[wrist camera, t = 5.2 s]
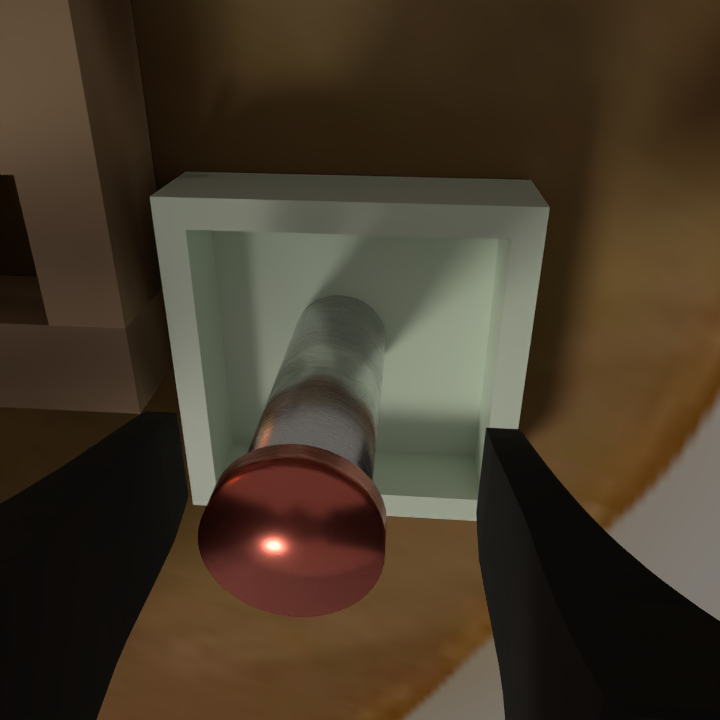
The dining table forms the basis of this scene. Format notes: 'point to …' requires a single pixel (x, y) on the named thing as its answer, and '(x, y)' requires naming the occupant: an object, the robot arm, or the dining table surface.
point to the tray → (372, 286)
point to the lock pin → (307, 475)
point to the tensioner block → (79, 212)
